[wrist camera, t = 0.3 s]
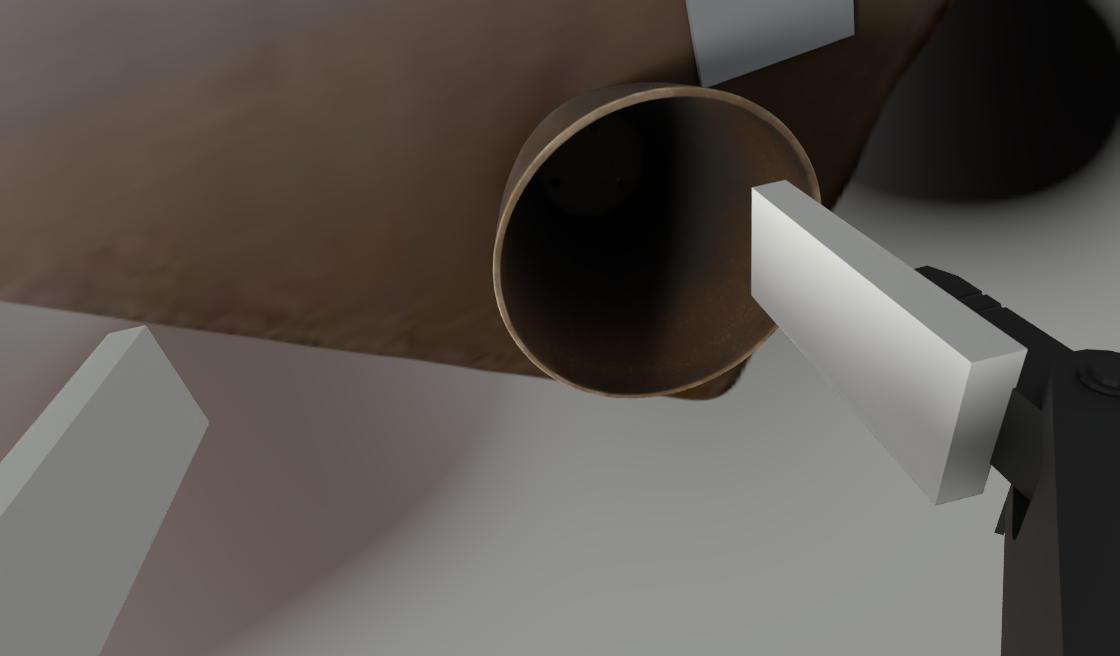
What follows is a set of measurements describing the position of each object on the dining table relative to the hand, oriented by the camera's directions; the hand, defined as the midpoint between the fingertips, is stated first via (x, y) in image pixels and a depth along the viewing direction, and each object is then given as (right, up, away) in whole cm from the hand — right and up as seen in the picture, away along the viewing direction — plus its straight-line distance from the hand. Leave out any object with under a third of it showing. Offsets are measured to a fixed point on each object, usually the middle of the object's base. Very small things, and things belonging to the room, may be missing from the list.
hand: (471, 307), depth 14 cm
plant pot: (+4, +11, +27) cm, 29 cm away
